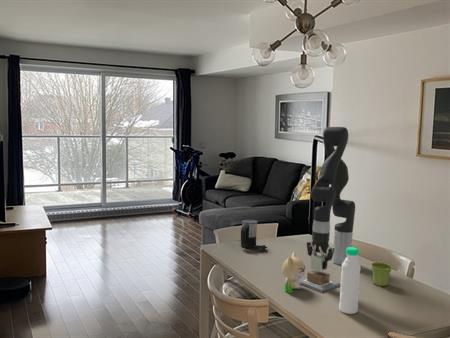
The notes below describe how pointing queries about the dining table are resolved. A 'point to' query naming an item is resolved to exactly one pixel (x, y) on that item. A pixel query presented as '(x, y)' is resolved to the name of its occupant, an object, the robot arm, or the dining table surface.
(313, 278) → the walnut base block
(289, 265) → the kitten
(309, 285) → the plate
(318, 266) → the sage block
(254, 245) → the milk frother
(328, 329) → the dining table surface
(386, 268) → the plant pot
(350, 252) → the water bottle
